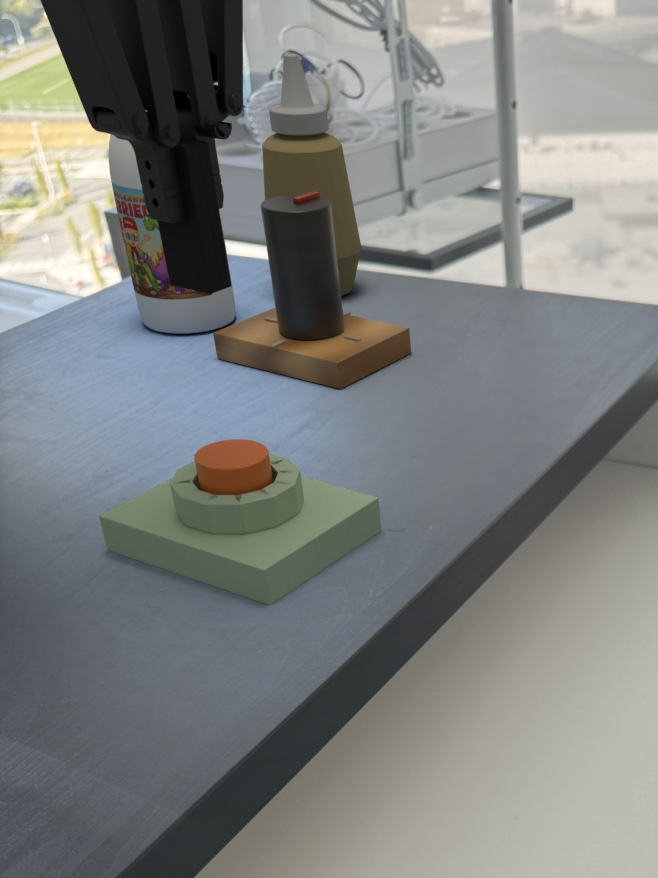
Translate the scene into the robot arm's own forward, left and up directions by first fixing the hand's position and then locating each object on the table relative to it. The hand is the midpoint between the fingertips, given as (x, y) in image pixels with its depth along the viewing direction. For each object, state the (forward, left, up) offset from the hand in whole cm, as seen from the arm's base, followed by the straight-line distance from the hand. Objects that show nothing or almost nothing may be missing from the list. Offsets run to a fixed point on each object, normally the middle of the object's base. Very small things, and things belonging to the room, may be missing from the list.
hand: (200, 285), depth 59 cm
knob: (-16, +26, -12) cm, 33 cm away
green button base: (0, 0, -14) cm, 14 cm away
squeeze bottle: (-26, +39, -15) cm, 49 cm away
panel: (-16, +26, -14) cm, 34 cm away
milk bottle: (-30, +27, -15) cm, 43 cm away
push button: (0, 0, -11) cm, 11 cm away
